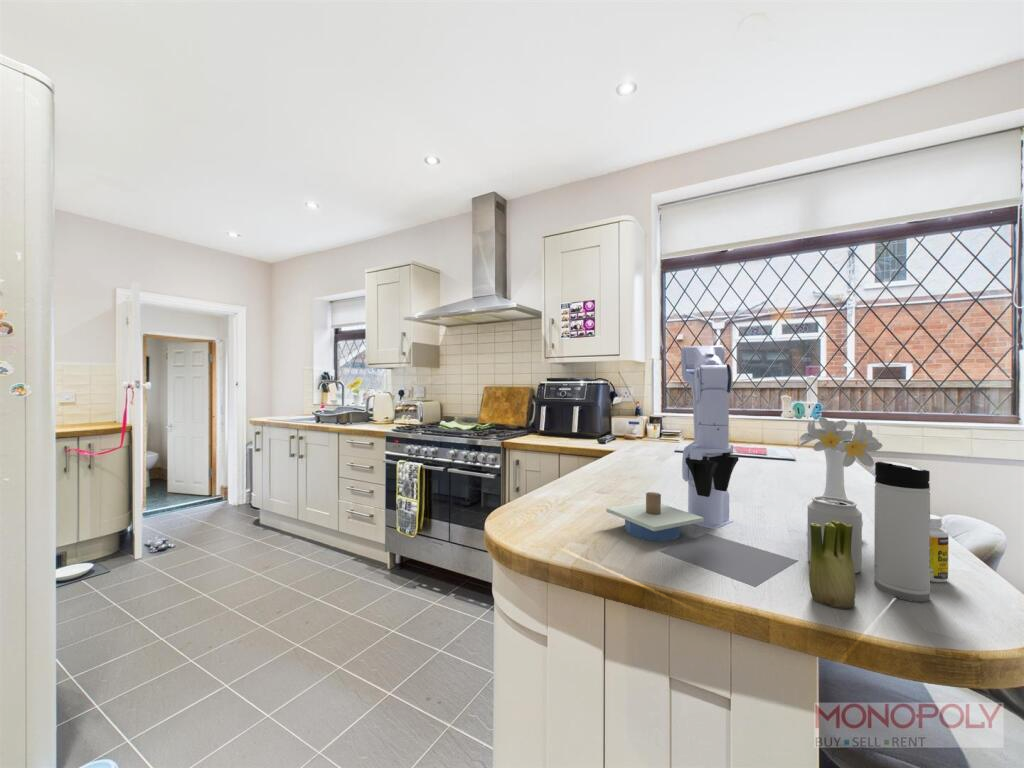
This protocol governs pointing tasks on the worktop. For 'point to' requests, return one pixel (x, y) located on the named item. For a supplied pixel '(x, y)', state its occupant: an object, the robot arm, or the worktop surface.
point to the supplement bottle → (938, 550)
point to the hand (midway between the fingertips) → (712, 493)
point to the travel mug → (902, 531)
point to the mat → (730, 558)
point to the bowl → (652, 532)
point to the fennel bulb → (832, 565)
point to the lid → (654, 514)
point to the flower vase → (841, 450)
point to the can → (842, 512)
